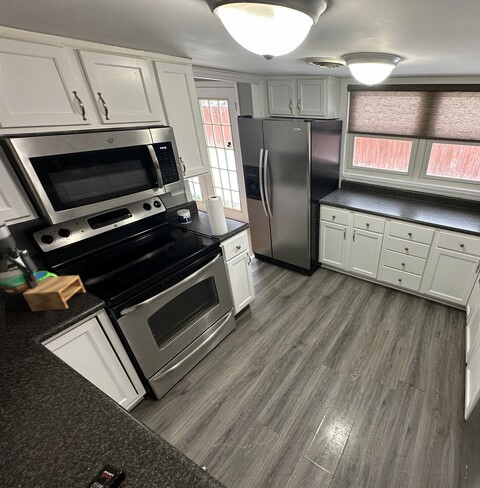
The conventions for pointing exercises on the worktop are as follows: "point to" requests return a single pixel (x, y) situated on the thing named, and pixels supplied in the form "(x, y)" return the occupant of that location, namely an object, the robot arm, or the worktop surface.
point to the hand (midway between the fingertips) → (24, 287)
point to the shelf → (53, 293)
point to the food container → (14, 280)
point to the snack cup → (43, 275)
